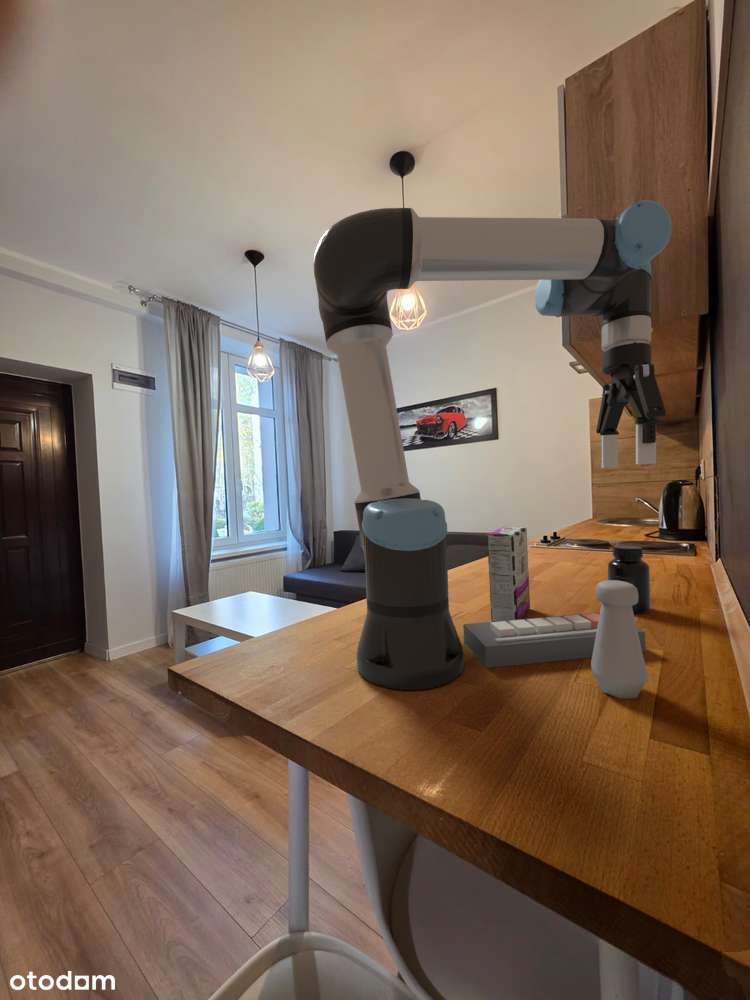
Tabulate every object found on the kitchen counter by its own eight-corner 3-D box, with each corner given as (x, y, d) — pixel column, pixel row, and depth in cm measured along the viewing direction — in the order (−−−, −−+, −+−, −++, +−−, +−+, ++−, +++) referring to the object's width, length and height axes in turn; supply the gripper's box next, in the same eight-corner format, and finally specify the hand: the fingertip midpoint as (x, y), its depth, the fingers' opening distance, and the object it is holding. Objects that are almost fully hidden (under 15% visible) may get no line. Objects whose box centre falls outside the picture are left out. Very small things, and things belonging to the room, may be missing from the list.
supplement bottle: (660, 612, 73) (658, 548, 73) (630, 616, 71) (628, 551, 71) (627, 601, 80) (626, 543, 79) (600, 605, 78) (598, 545, 78)
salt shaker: (660, 702, 44) (658, 588, 43) (608, 704, 44) (606, 589, 44) (627, 677, 50) (625, 576, 49) (582, 678, 50) (579, 577, 49)
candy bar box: (505, 605, 81) (502, 526, 80) (530, 608, 78) (528, 526, 78) (489, 622, 71) (486, 532, 71) (517, 626, 69) (514, 533, 68)
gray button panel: (486, 668, 54) (485, 639, 54) (464, 642, 63) (463, 618, 63) (645, 652, 57) (644, 624, 57) (602, 629, 66) (601, 606, 65)
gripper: (694, 317, 58) (693, 461, 58) (616, 367, 82) (617, 468, 83) (638, 321, 59) (638, 462, 60) (578, 370, 84) (579, 469, 84)
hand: (626, 466), depth 71 cm, fingers open, 13 cm apart
